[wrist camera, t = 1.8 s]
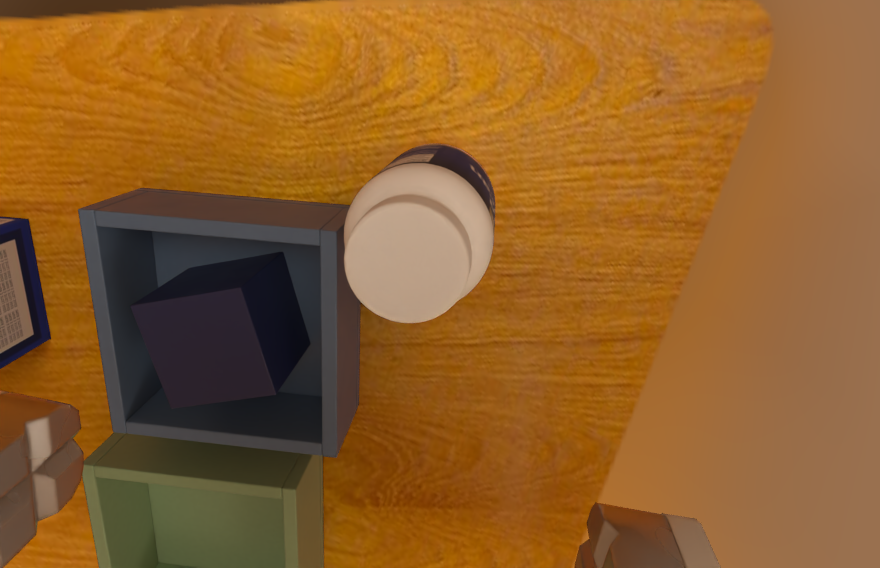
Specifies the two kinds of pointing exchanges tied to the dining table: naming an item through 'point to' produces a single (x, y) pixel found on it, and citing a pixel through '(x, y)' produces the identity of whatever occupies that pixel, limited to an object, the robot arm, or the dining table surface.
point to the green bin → (203, 505)
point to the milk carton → (19, 293)
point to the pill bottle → (420, 233)
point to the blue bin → (207, 242)
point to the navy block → (224, 330)
